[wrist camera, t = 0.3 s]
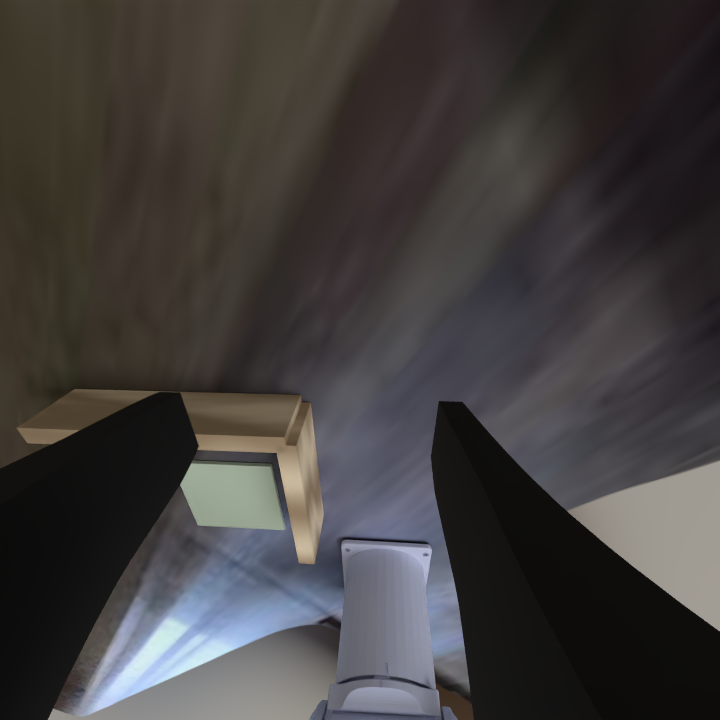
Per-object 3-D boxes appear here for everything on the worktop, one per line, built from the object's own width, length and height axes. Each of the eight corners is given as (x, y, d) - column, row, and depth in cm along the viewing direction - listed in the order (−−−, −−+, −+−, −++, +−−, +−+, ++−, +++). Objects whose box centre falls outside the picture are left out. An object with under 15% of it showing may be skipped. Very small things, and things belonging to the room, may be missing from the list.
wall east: (302, 409, 21) (286, 453, 18) (82, 402, 23) (27, 443, 19) (300, 394, 21) (284, 437, 17) (74, 388, 22) (16, 428, 18)
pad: (285, 527, 28) (284, 530, 28) (199, 522, 29) (197, 525, 29) (271, 463, 24) (270, 466, 24) (172, 459, 25) (170, 462, 25)
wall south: (323, 515, 27) (314, 564, 24) (309, 514, 27) (298, 563, 24) (310, 402, 21) (296, 446, 18) (293, 402, 21) (275, 445, 18)
